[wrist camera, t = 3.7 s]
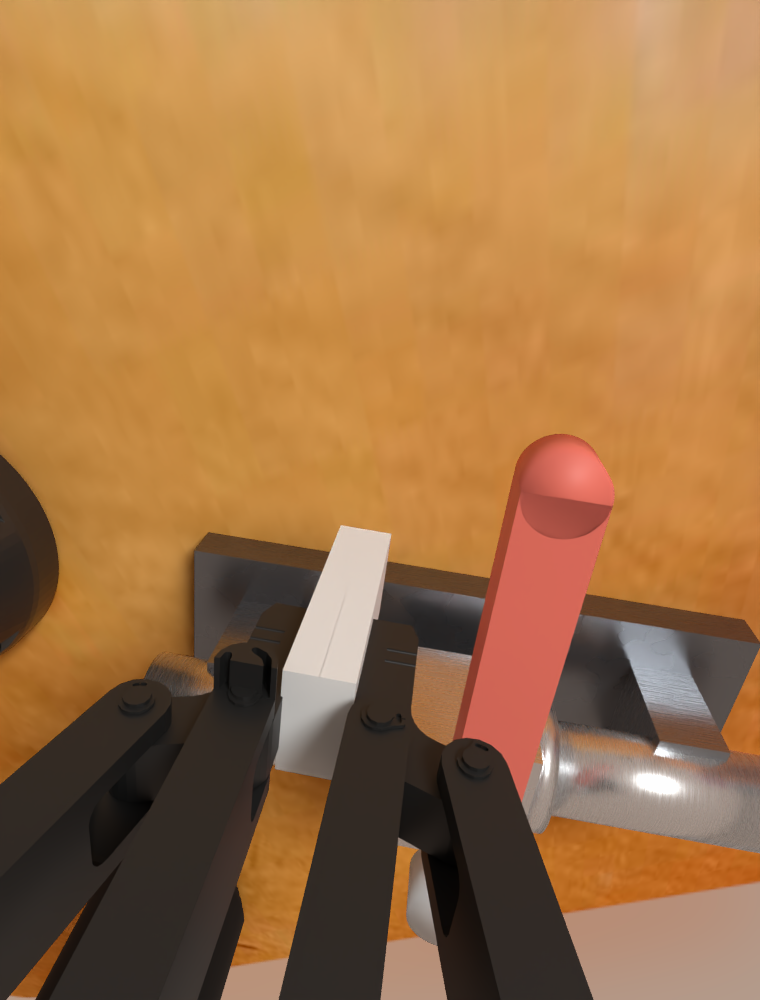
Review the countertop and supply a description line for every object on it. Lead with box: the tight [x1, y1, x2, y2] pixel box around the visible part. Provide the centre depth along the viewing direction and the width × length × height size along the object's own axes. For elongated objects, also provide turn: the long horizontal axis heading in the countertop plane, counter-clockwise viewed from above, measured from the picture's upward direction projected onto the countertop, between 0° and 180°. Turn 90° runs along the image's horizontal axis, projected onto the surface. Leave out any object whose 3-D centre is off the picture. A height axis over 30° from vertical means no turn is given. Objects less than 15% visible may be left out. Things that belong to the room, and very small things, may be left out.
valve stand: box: [144, 533, 760, 853], centre depth 30 cm, size 28×10×12 cm, turn 83°
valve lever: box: [406, 434, 614, 946], centre depth 19 cm, size 19×3×2 cm, turn 173°
